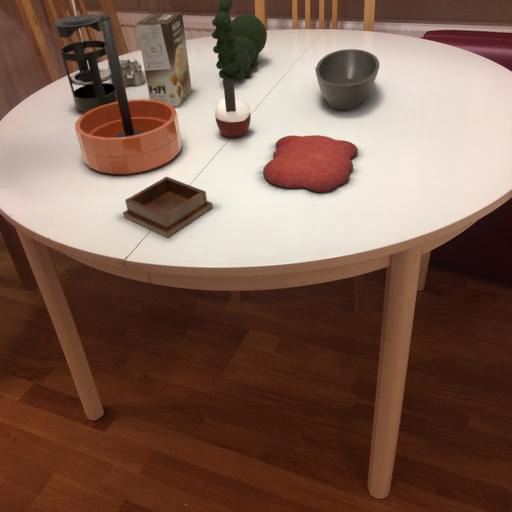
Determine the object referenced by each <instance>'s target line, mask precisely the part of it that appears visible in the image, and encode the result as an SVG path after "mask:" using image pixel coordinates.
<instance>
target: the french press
mask: <svg viewBox="0 0 512 512" xmlns="http://www.w3.org/2000/svg"><path fill="white" fill-rule="evenodd" d="M71 3H72V7H73V10H74V15H72V16H67V17H63V18H59V19H57V20H55V21H54V22H53V27H55V28H56V29H57V33H58V36H59V37H60V38H63V39H67V38H71V36H72V35H74V33H75V32H77V31H79V36H80V40H78V41H77V40H76V41H73V42H72V43H69V44H66V45H65V46H62V47H61V48H60V53H61V57H62V60H63V64H64V69H65V72H66V76H67V79H68V83H69V87H70V90H71V94H72V98H73V102H74V105H75V107H74V109H75V111H76V113H78V114H81V115H83V114H85V113H86V112H88V111H89V110H92V109H94V108H97V107H99V106H102V105H105V104H109V103H113V102H117V96H116V92H115V87H114V82H113V78H112V73H111V69H110V70H109V69H107V68H99V67H100V66H99V63H98V58H102V57H104V56H106V58H107V64H108V63H109V60H108V55H107V51H106V46H105V42H104V40H84V38H83V36H84V35H83V33H82V28H91V29H92V30H94V31H96V32H99V33H100V32H102V28H101V23H100V16H101V15H97V14H79V15H78V12H77V7H76V3H75V0H71ZM88 48H89V49H91V48H98V49H97V50H93V51H88V52H87V49H88ZM71 52H74V53H71ZM67 61H69V62H77V67H78V70H79V71H78V72H76V73H74V74H72V75H71V74H70V70H69V67H68V63H67ZM109 67H110V64H109ZM110 79H111V80H112V83H110V82H107V81H109V80H110ZM73 85H76V86H80V87H78V88H76V89H74V86H73Z"/></svg>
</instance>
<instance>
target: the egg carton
mask: <svg viewBox="0 0 512 512" xmlns="http://www.w3.org/2000/svg"><path fill="white" fill-rule="evenodd" d="M119 61H120V66H121V71H122V76H123V80H124V85H125V88H126V87H127V86H131V85H135V86H140V85H141V84H144V83H145V75H144V73H143V70H142V63H140V62H139V61H138V60H137V59H133V61H131V60H130V59H129V58H127V59H126V60H125V59H119ZM107 68H108V69H107V70H110V67H109V63H108V62H107Z"/></svg>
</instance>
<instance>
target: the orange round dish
mask: <svg viewBox="0 0 512 512" xmlns="http://www.w3.org/2000/svg"><path fill="white" fill-rule="evenodd" d="M127 100H128V104H129V109H130V114H131V119H132V124H133V128H134V130H141V131H144V132H145V133H142V134H138V135H133V136H127V137H115V136H116V135H117V134H119V133H122V132H124V128H123V123H122V119H121V114H120V110H119V105H118V101H117V102H113V103H109V104H105V105H102V106H99V107H97V108H94V109H92V110H89V111H88V112H86V113H85V114H81V115H80V116H79V117H78V119H76V121H75V122H74V130H75V133H76V136H77V141H78V145H79V147H80V152H81V154H82V159H83V162H84V163H85V164H86V165H87V166H88V168H90V169H93V170H94V171H97V172H101V173H105V174H107V175H108V174H109V175H134V174H140V173H145V172H148V171H151V170H155V169H157V168H159V167H162V166H163V165H165V164H167V163H169V162H170V161H171V160H173V159H174V158H175V157H176V156H177V155H178V154H179V153H180V151H181V149H182V146H183V145H182V137H181V132H180V131H181V130H180V125H179V124H180V123H179V118H178V113H177V110H176V108H175V106H171V105H170V104H168V103H165V102H162V101H158V100H150V99H148V98H147V99H146V98H140V99H139V98H137V99H135V98H134V99H127Z"/></svg>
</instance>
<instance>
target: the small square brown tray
mask: <svg viewBox="0 0 512 512" xmlns="http://www.w3.org/2000/svg"><path fill="white" fill-rule="evenodd" d="M125 205H126V209H127V210H125V211H123V212H122V214H123V218H125V219H127V220H129V221H131V222H133V223H136V224H138V225H140V226H142V227H145V229H148V230H150V231H153V232H155V233H157V234H159V235H161V236H163V237H166V238H169V237H171V236H173V235H174V234H177V232H179V231H180V230H182V229H183V228H185V227H187V226H188V225H189V224H192V222H194V221H195V220H197V219H198V218H200V217H201V216H203V215H204V214H206V213H208V212H209V211H210V210H212V209H213V208H214V205H213V202H210V201H208V198H207V191H206V190H203V189H201V188H197V187H195V186H192V185H189V184H188V183H184V182H182V181H179V180H177V179H174V178H171V177H169V176H165V177H163V178H161V179H160V180H157V181H156V182H154V183H152V184H151V185H149V186H147V187H146V188H143V189H142V190H140V191H139V192H137V193H135V194H133V195H131V196H130V197H128V198H126V199H125Z"/></svg>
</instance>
